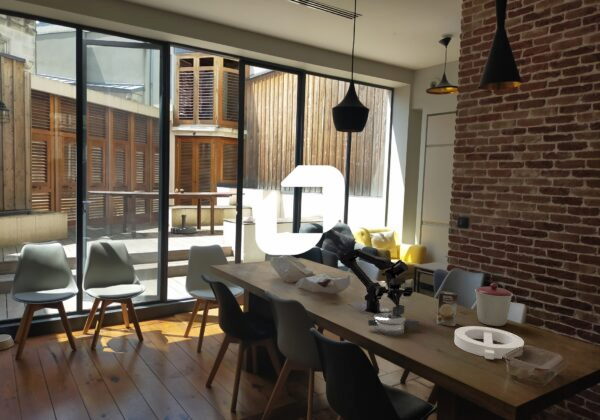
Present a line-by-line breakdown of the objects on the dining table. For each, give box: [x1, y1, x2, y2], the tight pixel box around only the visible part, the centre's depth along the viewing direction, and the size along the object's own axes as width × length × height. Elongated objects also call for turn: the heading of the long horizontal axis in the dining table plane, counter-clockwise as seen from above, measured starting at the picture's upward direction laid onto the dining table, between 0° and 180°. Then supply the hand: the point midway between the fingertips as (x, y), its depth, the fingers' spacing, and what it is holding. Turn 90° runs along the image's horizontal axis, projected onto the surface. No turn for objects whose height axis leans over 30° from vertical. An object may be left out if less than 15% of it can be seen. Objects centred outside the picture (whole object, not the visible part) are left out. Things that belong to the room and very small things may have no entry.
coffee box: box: [436, 290, 458, 327], centre depth 224 cm, size 9×6×16 cm
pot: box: [367, 319, 419, 336], centre depth 211 cm, size 14×24×5 cm, turn 97°
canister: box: [474, 282, 514, 327], centre depth 227 cm, size 18×18×21 cm
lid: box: [373, 304, 407, 324], centre depth 212 cm, size 15×19×5 cm
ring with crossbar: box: [453, 325, 525, 360], centre depth 194 cm, size 28×28×5 cm
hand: (397, 306), depth 223 cm, fingers closed
